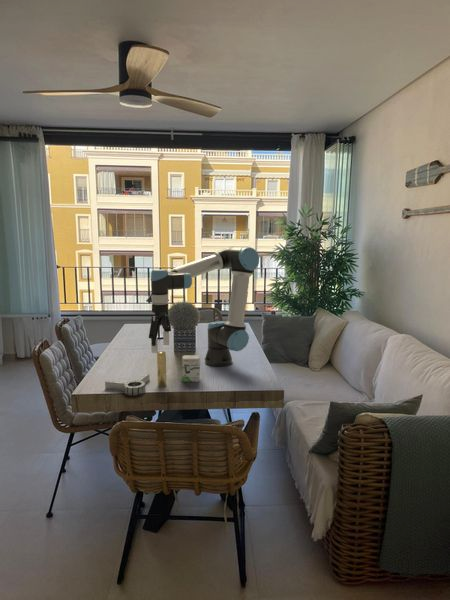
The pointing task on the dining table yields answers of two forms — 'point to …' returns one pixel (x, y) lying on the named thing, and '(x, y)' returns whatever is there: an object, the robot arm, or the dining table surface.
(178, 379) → the dining table surface
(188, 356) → the ink box
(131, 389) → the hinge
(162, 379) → the pin
